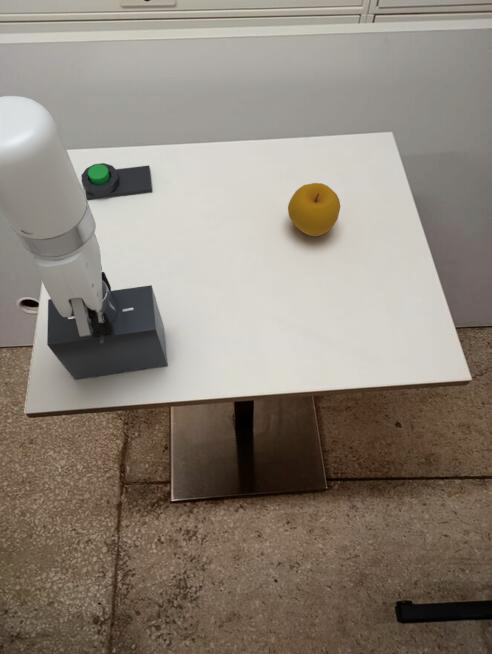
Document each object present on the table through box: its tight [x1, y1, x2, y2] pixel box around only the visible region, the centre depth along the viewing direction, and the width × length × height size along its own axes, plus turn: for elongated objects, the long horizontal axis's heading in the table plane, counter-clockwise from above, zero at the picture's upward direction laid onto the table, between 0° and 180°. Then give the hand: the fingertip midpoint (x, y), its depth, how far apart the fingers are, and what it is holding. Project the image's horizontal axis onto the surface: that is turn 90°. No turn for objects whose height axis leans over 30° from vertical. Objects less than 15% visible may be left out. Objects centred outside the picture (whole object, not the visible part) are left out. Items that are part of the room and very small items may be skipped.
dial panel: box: [46, 284, 169, 381], centre depth 72 cm, size 14×9×12 cm, turn 100°
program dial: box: [87, 280, 117, 324], centre depth 64 cm, size 4×4×6 cm
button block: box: [81, 162, 153, 201], centre depth 92 cm, size 12×6×2 cm, turn 100°
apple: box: [287, 182, 341, 237], centre depth 85 cm, size 8×8×9 cm
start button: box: [88, 163, 110, 185], centre depth 91 cm, size 4×4×2 cm
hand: (99, 310), depth 66 cm, fingers open, 5 cm apart
